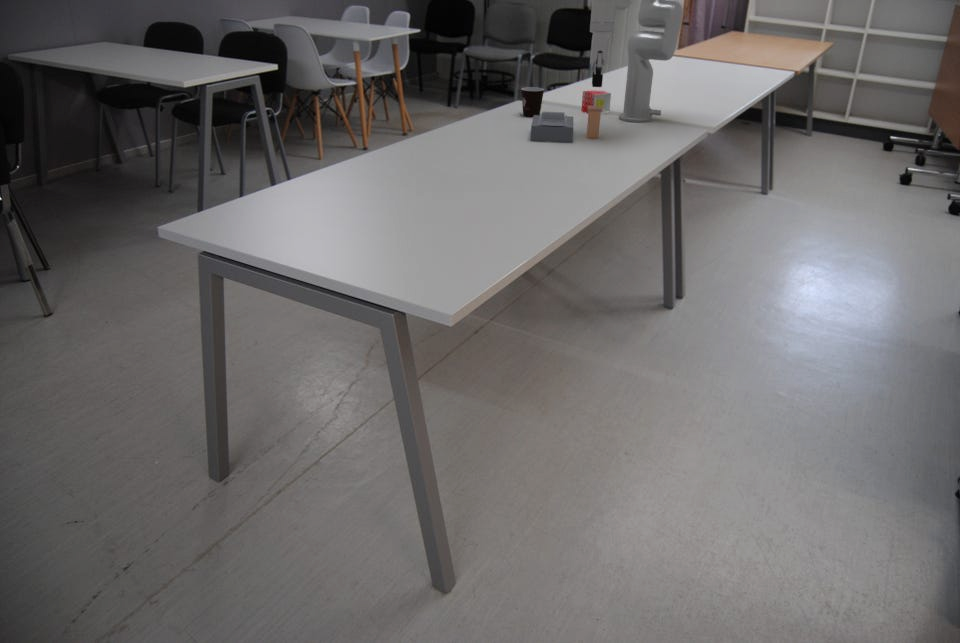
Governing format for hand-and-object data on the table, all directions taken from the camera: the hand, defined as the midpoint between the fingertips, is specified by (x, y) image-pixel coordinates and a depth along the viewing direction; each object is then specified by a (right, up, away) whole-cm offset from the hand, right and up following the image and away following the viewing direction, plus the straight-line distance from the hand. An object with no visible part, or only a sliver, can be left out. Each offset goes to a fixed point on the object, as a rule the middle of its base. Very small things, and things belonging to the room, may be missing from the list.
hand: (596, 85), depth 249 cm
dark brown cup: (-19, +1, +39) cm, 44 cm away
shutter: (-15, -12, +2) cm, 19 cm away
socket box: (-14, -15, +8) cm, 22 cm away
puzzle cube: (+7, +3, +46) cm, 47 cm away
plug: (0, -15, +8) cm, 17 cm away
